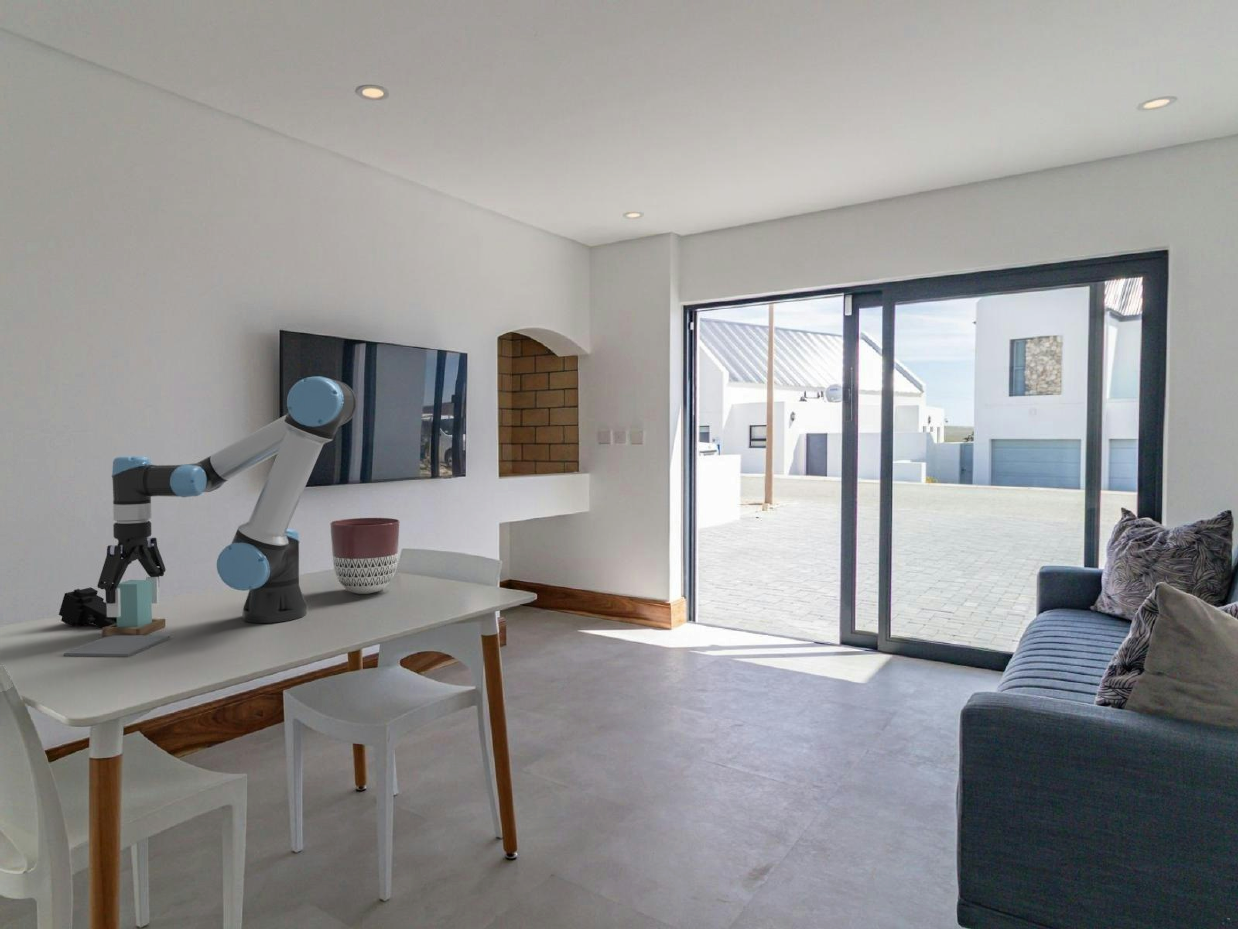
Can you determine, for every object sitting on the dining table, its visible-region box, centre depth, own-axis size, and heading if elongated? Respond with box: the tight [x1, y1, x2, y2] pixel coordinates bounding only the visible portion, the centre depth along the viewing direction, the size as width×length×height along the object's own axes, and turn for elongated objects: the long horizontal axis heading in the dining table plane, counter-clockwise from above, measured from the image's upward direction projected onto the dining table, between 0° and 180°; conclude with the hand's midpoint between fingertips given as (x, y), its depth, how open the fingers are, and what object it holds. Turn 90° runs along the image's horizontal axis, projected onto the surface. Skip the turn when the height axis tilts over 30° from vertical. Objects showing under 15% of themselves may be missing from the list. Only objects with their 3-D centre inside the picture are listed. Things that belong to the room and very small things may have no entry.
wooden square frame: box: [101, 618, 166, 638], centre depth 173 cm, size 9×9×2 cm
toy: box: [58, 586, 117, 629], centre depth 179 cm, size 9×8×15 cm
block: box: [117, 579, 153, 627], centre depth 173 cm, size 5×5×12 cm
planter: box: [330, 517, 400, 595], centre depth 217 cm, size 20×20×21 cm
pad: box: [63, 634, 172, 658], centre depth 161 cm, size 14×14×1 cm
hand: (134, 609), depth 173 cm, fingers open, 13 cm apart
